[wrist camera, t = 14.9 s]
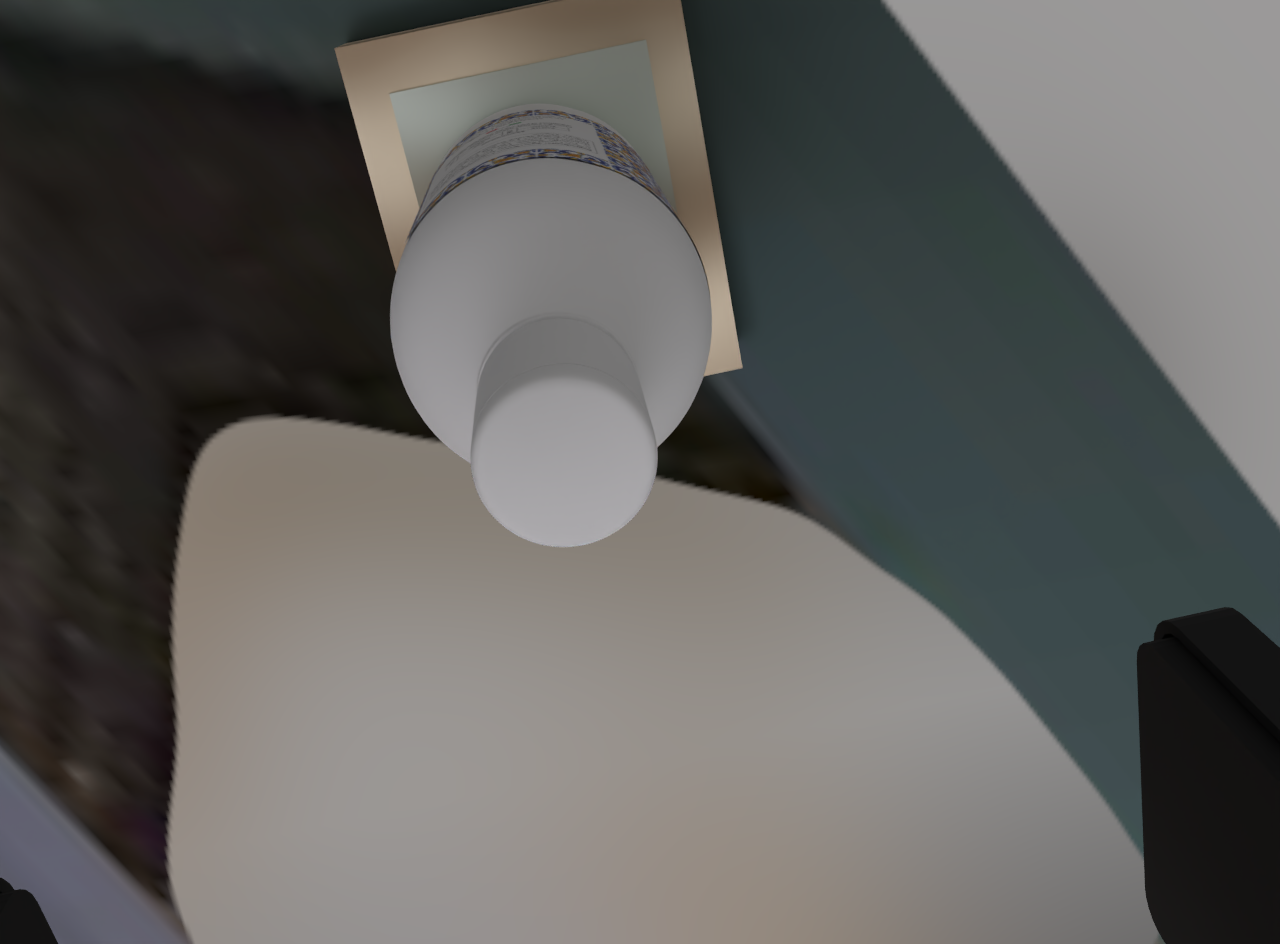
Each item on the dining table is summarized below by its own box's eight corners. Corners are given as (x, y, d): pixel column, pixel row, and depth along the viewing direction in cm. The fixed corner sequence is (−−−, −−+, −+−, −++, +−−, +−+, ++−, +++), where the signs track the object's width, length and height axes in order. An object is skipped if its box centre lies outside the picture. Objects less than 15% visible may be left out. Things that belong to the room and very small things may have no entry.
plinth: (345, 43, 37) (333, 48, 35) (666, -24, 37) (677, -24, 35) (444, 406, 42) (440, 434, 40) (730, 345, 42) (742, 369, 40)
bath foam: (627, 350, 39) (723, 692, 21) (410, 304, 38) (305, 624, 20) (681, 131, 37) (843, 299, 18) (450, 75, 36) (375, 194, 17)
